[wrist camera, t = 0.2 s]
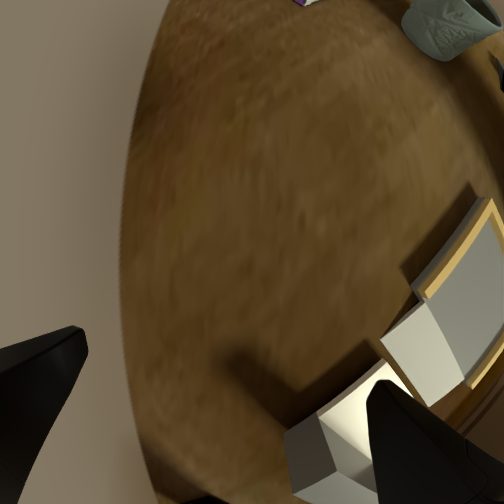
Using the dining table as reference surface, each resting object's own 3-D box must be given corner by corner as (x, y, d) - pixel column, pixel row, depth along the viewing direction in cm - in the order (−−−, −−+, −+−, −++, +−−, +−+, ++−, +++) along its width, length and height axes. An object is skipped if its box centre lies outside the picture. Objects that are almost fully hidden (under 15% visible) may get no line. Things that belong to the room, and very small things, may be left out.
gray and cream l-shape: (341, 468, 24) (361, 522, 14) (281, 426, 23) (292, 494, 14) (420, 409, 23) (460, 452, 14) (377, 353, 23) (428, 401, 13)
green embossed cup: (402, 5, 21) (434, -42, 9) (458, 45, 21) (499, 9, 9) (390, 34, 21) (431, -24, 9) (454, 81, 21) (509, 42, 9)
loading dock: (430, 410, 24) (442, 422, 21) (366, 323, 23) (380, 334, 20) (514, 303, 24) (528, 307, 20) (472, 198, 23) (490, 196, 20)
